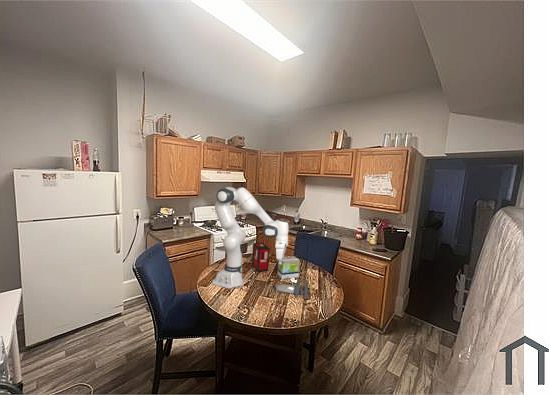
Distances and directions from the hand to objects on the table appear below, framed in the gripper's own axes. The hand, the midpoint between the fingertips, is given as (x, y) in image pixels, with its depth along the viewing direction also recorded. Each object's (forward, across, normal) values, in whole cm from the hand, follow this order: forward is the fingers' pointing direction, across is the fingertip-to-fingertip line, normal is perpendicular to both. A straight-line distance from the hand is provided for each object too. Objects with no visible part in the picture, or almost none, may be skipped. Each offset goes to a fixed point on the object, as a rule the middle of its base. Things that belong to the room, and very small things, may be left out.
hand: (281, 261), depth 157 cm
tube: (+22, 0, +6) cm, 22 cm away
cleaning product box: (+21, -33, -24) cm, 46 cm away
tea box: (+22, -25, +2) cm, 33 cm away
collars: (+22, 0, +16) cm, 27 cm away
